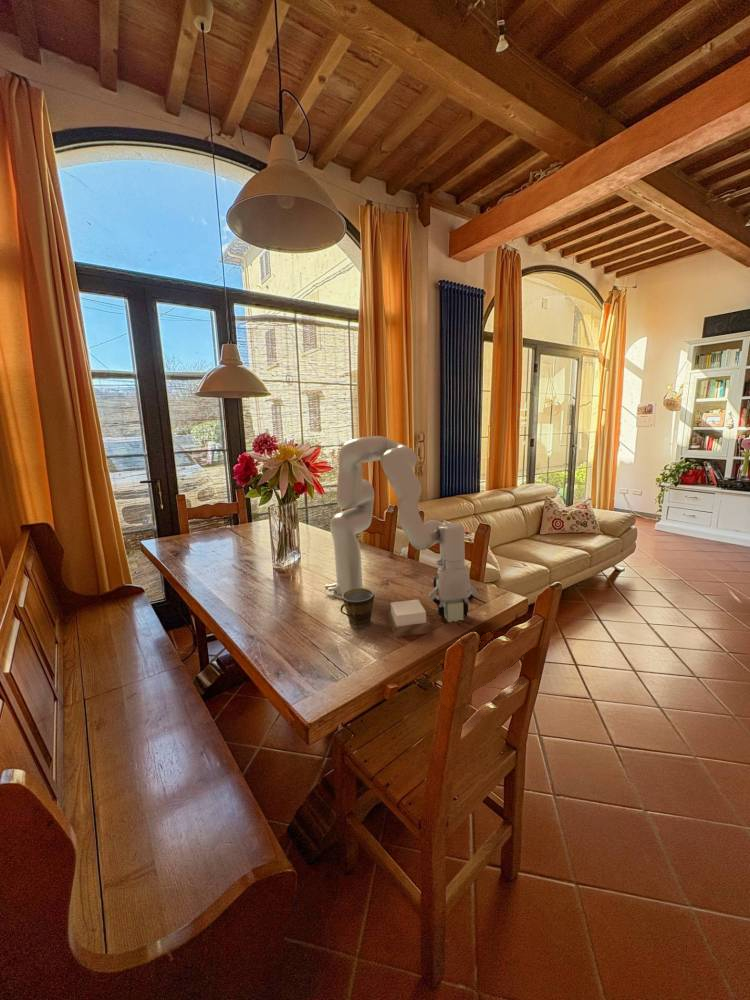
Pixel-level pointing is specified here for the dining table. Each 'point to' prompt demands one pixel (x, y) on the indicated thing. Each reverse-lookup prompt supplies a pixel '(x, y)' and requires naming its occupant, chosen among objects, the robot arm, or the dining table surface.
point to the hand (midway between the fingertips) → (453, 615)
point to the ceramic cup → (358, 607)
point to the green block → (453, 610)
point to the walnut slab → (409, 627)
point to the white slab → (408, 612)
